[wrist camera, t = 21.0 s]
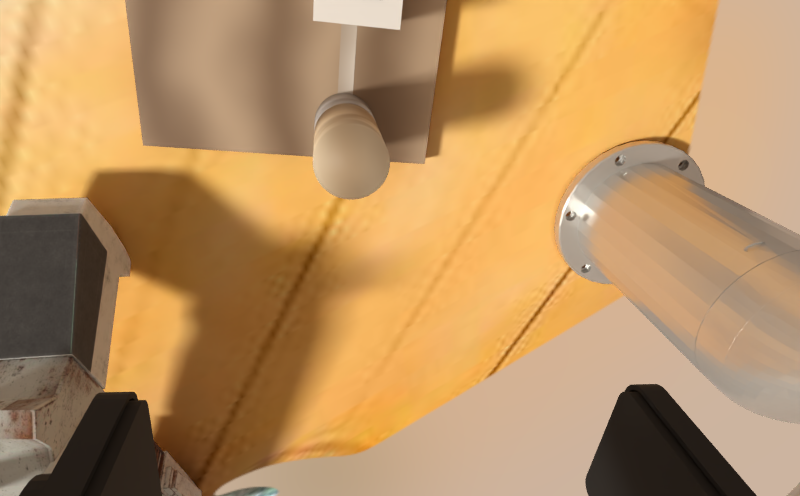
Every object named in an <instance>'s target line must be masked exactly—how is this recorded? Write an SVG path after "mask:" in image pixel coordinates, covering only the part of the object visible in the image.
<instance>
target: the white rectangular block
mask: <svg viewBox="0 0 800 496" xmlns="http://www.w3.org/2000/svg"><path fill="white" fill-rule="evenodd" d="M402 5H403V0H314V4H313V21H321V22H330V23H339V24H349V25H358V26H367V27H376V28H386V29H395V30H400V26H401V16H402Z"/></svg>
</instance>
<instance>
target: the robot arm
mask: <svg viewBox="0 0 800 496" xmlns="http://www.w3.org/2000/svg"><path fill="white" fill-rule="evenodd" d="M554 229H555V241H556V244H557V247H558V250H559V252H560V254H561V256H562V257H563V259H564V261H565V262H566V263H567V264H568V265H569V266H570V267H571V269H572V270H573V271H575V272H576V273H577V274H578V275H580V276H581V277H583V278H585V279H588V280H590V281H593V282H597V283H602V284H614V285H615V286H616V287H617V288H618V289H619V290H620V291H621V292H622V293H623V294H624V295H625V296H626V297H627V299H628V300H629V301H630V302H631V303H632V304H633V305H635V307H637V309H639V311H640V312H642V313H643V315H645V316H646V318H647V319H648V320H649V321H650V322H651V323H652V324H653V325H654V326H655V327H656V328H657V329H658V330H659V331H660V332H662V334H663V335H664V336H665V337H666V338H667V339H668V340H669V341H670V342H671V343H672V344H673V345H674V346H675V347H676V348H677V349H678V350H679V351H680V352H681V353H682V354H683V355H684V356H685V357H686V358H687V359H689V361H690V362H691V363H692V364H693V365H694V366H695V367H696V368H697V369H698V370H699V371H700V372H701V373H702V374H703V375H704V376H705V377H706V378H707V379H709V381H710V382H711V383H712V384H714V385H715V386H716V387H717V388H718V389H719V390H720V391H721V392H722V393H723V394H724V395H726V396H727V397H728V398H729V399H731V400H732V401H734V402H735V403H737V404H738V405H740V406H742V407H744V408H745V409H747V410H750V411H752V412H753V413H756V414H758V415H761V416H765V417H768V418H771V419H775V420H779V421H785V422H790V423H797V424H800V235H799V234H797V233H795V232H793V231H791V230H789V229H787V228H785V227H783V226H781V225H779V224H777V223H775V222H773V221H771V220H770V219H768V218H765V217H764V216H762V215H760V214H758V213H756V212H754V211H752V210H750V209H748V208H746V207H744V206H742V205H740V204H738V203H736V202H734V201H732V200H730V199H728V198H726V197H724V196H722V195H720V194H718V193H716V192H715V191H713V190H711V189H709V188H707V187H705V185H704V179H703V177H702V174H701V171H700V169H699V167H698V166H697V165H696V163H695V162H694V160H693V159H692V158H691V157H690V156H688V155H687V154H686V153H685V152H684V151H682V150H680V149H678V148H676V147H673V146H671V145H668V144H665V143H662V142H659V141H646V140H645V141H636V142H630V143H626V144H623V145H620V146H617V147H615V148H613V149H611V150H609V151H607V152H605V153H603V154H601V155H600V156H598V157H597V158H595V159H594V160H593V161H591V162H590V163H589V164H587V165H586V166H585V167H584V168H583V169H582V170H581V171H580V172H579V173H578V174H577V175H576V177H575V178H574V179H573V181H572V182H571V184H570V185H569V186H568V188H567V189H566V191H565V193H564V195H563V197H562V199H561V201H560V204H559V207H558V210H557V213H556V219H555V227H554ZM586 489H587V493H588V495H589V496H756V494H755V493H754V492H753V491H752V490H751V489H750V487H749V486H748V485H747V484H746V483H745V482H744V481H743V479H742V478H741V477H740V476H739V475H738V474H737V472H736V471H735V470H734V469H733V468H732V467H731V465H730V464H729V463H728V462H727V461H726V460H725V458H723V456H722V455H721V454H720V453H719V451H718V450H717V449H716V448H715V447H714V446H713V445H712V443H711V442H710V441H709V440H708V439H707V438H706V436H705V435H704V434H703V433H702V432H701V431H700V429H699V428H698V427H697V426H696V425H695V424H694V423H693V421H692V420H691V419H690V418H689V417H688V416H687V414H686V413H685V412H684V411H683V410H682V409H681V407H680V406H679V405H678V404H677V403H676V402H675V400H674V399H673V398H672V397H671V396H670V395H669V394H668V392H667V391H666V390H665V389H664V388H663V387H662V386H660V385H657V384H643V385H630V386H628V387H627V388H626V390H625V392H622V393H621V394H620V395H619V397H618V400H617V402H616V405H615V407H614V410H613V412H612V415H611V417H610V419H609V422H608V425H607V427H606V429H605V432H604V434H603V437H602V439H601V442H600V444H599V446H598V449H597V451H596V454H595V456H594V459H593V461H592V464H591V466H590V469H589V471H588V473H587V476H586ZM19 496H162V491H161V485H160V478H159V472H158V466H157V459H156V453H155V447H154V440H153V434H152V427H151V421H150V415H149V408H148V403H147V401H146V400H138V399H137V395H136V394H135V392H102V393H98V394H96V396H95V397H94V398H93V400H92V402H91V403H90V405H89V407H88V409H87V411H86V412H85V414H84V416H83V418H82V419H81V421H80V423H79V425H78V427H77V428H76V430H75V432H74V434H73V435H72V437H71V439H70V441H69V443H68V444H67V446H66V448H65V450H64V451H63V453H62V455H61V457H60V459H59V460H58V462H57V464H56V466H55V467H54V469H53V471H52V473H49V474H39V475H36V476H35V477H33V478H32V479H31V480H30V481H29V482H28V483H27V485H26V486H25V487H24V489H23V490H22V492H21V493H20V495H19ZM787 496H800V483H799V484H798V485H797V486H796V487H795V488H794V489H793V490H792V491H791V492H790V493H789V494H788V495H787Z"/></svg>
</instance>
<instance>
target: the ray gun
mask: <svg viewBox="0 0 800 496" xmlns="http://www.w3.org/2000/svg"><path fill="white" fill-rule="evenodd" d="M130 267H131V261H130V258H129V255H128V253H127V251H126V249H125V247H124V246H123V244H122V242H121V241H120V239H119V238H118V236H117V235H116V233H115V232H114V230H113V229H112V227H111V226H110V224H109V223H108V222H107V221H106V220H105V218H104V217H103V216H102V215H101V214H100V212H99V211H98V210H97V209H96V208H95V207H94V205H93V204H92V203H91V202H90V201H89V199H88V198H59V199H27V200H13V202H12V204H11V206H10V208H9V211H8V213H7V215H6V216H0V496H19V495H20V493H21V492H22V490H23V489H24V487H25V486H26V485H27V483H28V482H29V481H30V480H31V479H32V478H33V477H35V476H36V475H39V474H49V473H52V471H53V469H54V467H55V466H56V464H57V462H58V460H59V459H60V457H61V455H62V453H63V451H64V450H65V448H66V446H67V444H68V443H69V441H70V439H71V437H72V435H73V434H74V432H75V430H76V428H77V427H78V425H79V423H80V421H81V419H82V418H83V416H84V414H85V412H86V411H87V409H88V407H89V405H90V403H91V402H92V400H93V398H94V397H95V396H96V394H98V393H102V392H104V391H103V390H102V389H105V385H106V377H107V369H108V361H109V353H110V345H111V337H112V329H113V321H114V313H115V305H116V297H117V289H118V282H119V277H125V276H130ZM154 447H155V453H156V459H157V466H158V472H159V478H160V485H161V491H162V496H202V491H201V490H200V489H199V488H198V487H197V486H196V484H195V483H194V482H193V481H192V480H191V478H190V477H189V476H188V475H187V474H186V473H185V471H184V470H183V469H182V468H181V467H180V466H179V464H178V463H177V462H176V461H175V460H174V459H173V457H172V456H171V455H170V454H169V453H168V452H167V451H162V449H161V448H160V447H159V446H158V445H157V444H156V443H155V441H154Z"/></svg>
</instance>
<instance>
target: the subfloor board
mask: <svg viewBox="0 0 800 496" xmlns="http://www.w3.org/2000/svg"><path fill="white" fill-rule="evenodd" d="M125 2H126V11H127V19H128V27H129V35H130V43H131V51H132V59H133V67H134V75H135V83H136V91H137V99H138V107H139V115H140V123H141V131H142V139H143V145H145V146H160V147H175V148H190V149H206V150H221V151H236V152H251V153H266V154H281V155H297V156H312V157H313V147H314V124H315V115H316V112H317V109H318V107H319V106H320V104H321V103H322V102H323V101H324V100H325V99H326V98H328V97H329V96H331V95H334V94H337V93H350V94H353V95H356V96H358V97H359V98H361V99H362V100H363V101H365V103H366V104H367V105H368V106H369V108H370V110H371V112H372V114H373V117H374V119H375V121H376V124H377V126H378V128H379V131H380V133H381V135H382V138H383V140H384V142H385V145H386V147H387V150H388V153H389V158H390V162H403V163H418V164H425V157H426V149H427V142H428V135H429V128H430V120H431V113H432V106H433V98H434V91H435V84H436V76H437V69H438V62H439V54H440V47H441V40H442V33H443V25H444V18H445V11H446V3H447V0H403V5H402V16H401V26H400V30H395V29H386V28H376V27H367V26H358V25H349V24H339V23H330V22H321V21H313V4H314V0H125Z"/></svg>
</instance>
